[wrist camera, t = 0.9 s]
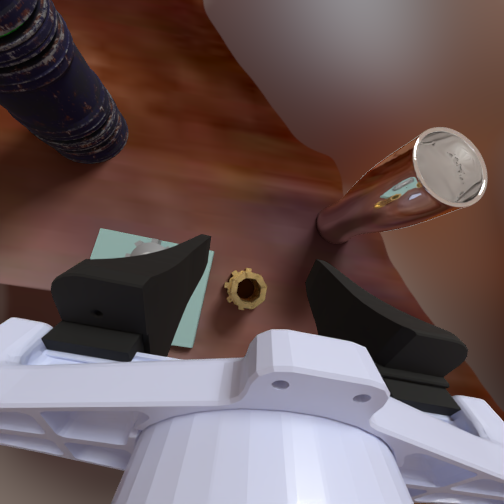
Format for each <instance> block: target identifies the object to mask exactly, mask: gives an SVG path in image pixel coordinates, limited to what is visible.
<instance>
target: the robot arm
mask: <svg viewBox="0 0 504 504" xmlns="http://www.w3.org/2000/svg"><path fill="white" fill-rule="evenodd" d="M210 241H211V236H207V235H203V234H201V235H199V236H196V237H194V238H192V239H190V240H188V241H186V242H183V243H181V244H178V245H176V246H173V247H171V248H168V249H164V250H161V251H157V252H153V253H148V254H143V255H138V256H131V257H122V258H109V259H85V260H84V261H82V262H80V263H79V264H77V265H75V266H74V267H72V268H71V269H69V270H67V271H66V272H64V273H63V274H61V275H59V276H58V277H56V278H55V280H54V281H53V282H52V286H51V293H52V297H53V300H54V302H55V304H56V307H57V309H58V311H59V314H60V316H61V319H62V321H61V322H60V323H58V324H57V325H56V326H55V327H54V328H53V327H52V326H50V325H49V324H46V323H43V322H37V321H32V320H27V319H21V318H10V319H8V320H7V321H5V322H4V323H2V324H1V325H0V445H4V446H10V447H16V448H21V449H25V450H30V451H36V452H41V453H45V454H49V455H54V456H59V457H63V458H68V459H72V460H77V461H82V462H86V463H91V464H96V465H100V466H105V467H109V468H114V469H119V470H123V471H125V472H124V474H123V476H122V478H121V481H120V483H119V486H118V488H117V490H116V493H115V495H114V497H113V500H112V502H111V504H414V503H413V502H419V503H440V504H504V422H503V421H502V419H501V418H500V417H499V416H498V415H497V414H496V413H495V412H494V411H493V409H492V408H491V407H490V406H489V405H488V404H487V403H486V402H485V400H482V399H479V398H473V397H467V396H461V395H456V396H452V397H451V395H450V394H449V393H448V391H447V390H446V389H445V388H448V387H449V383H448V382H447V381H446V380H445V379H444V376H445V375H447V374H448V373H449V372H451V371H452V370H454V369H455V368H456V367H458V366H459V365H460V364H461V363H462V362H463V361H464V360H465V359H466V357H467V352H468V349H467V347H466V345H465V344H464V343H463V342H462V341H460V339H459V338H458V337H456V336H455V335H454V334H452V333H451V332H448V331H446V330H444V329H441V328H438V327H436V326H434V325H431V324H429V323H426V322H424V321H421V320H419V319H417V318H415V317H413V316H410V315H408V314H406V313H404V312H402V311H400V310H398V309H396V308H394V307H392V306H390V305H388V304H387V303H385V302H383V301H381V300H380V299H378V298H376V297H375V296H373V295H371V294H370V293H368V292H367V291H365V290H364V289H362V288H361V287H359V286H358V285H357V284H355V283H354V282H352V281H351V280H350V279H349V278H347V277H346V276H345V275H343V274H342V273H341V272H340V271H338V270H337V269H336V268H334V267H333V266H332V265H330V264H329V263H327V262H326V261H322V260H318V259H316V261H315V263H314V265H313V267H312V269H311V271H310V274H309V276H308V278H307V280H306V282H305V283H306V291H307V296H308V300H309V303H310V307H311V310H312V313H313V316H314V319H315V323H316V326H317V330H318V335H314V334H309V333H304V332H298V331H293V330H288V329H271V330H268V331H265V332H263V333H260V334H258V335H257V336H256V337H255V338H254V339H253V341H252V342H251V343H250V345H249V348H248V350H247V353H246V355H245V357H244V358H220V359H192V360H181V359H175V358H170V357H167V355H168V352H169V350H170V347H171V344H172V341H173V339H174V336H175V333H176V331H177V328H178V326H179V323H180V321H181V318H182V316H183V313H184V311H185V308H186V306H187V304H188V302H189V300H190V298H191V296H192V294H193V292H194V291H195V289H196V287H197V285H198V283H199V281H200V280H201V278H202V276H203V274H204V271H205V269H206V266H207V263H208V257H209V249H210Z"/></svg>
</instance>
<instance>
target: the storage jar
mask: <svg viewBox="0 0 504 504" xmlns="http://www.w3.org/2000/svg"><path fill="white" fill-rule="evenodd" d="M0 105H2V106H3V107H4V108H6V109H7V110H8V112H9V113H10V114H11V115H12V116H13V117H14V118H15V119H16V120H17V121H19V122H20V123H21V124H22V125H24V126H25V127H26V128H27V129H28V130H29V131H30V132H31V133H33V134H34V135H35V136H36V137H38V138H39V139H40V140H42V141H43V142H45V143H46V144H48V145H50V146H51V147H53V148H54V149H55V150H57V151H58V152H59V153H60V154H62V155H63V156H64V157H66V158H68V159H70V160H72V161H75V162H79V163H86V164H93V163H100V162H103V161H106V160H109V159H111V158H112V157H114V156H116V155H117V154H118V153H119V152H120V151H121V150H122V149H123V147H124V146H125V144H126V142H127V138H128V127H127V124H126V121H125V119H124V118H123V116H122V115H121V113H120V112H119V110H118V108H117V106H116V104H115V102H114V100H113V99H112V97H111V95H110V94H109V92H108V90H107V89H106V88H105V87H104V85H103V84H102V82H101V81H100V79H99V78H98V76H97V75H96V74H95V73H94V72H93V71H92V70H91V69H90V67H89V66H88V64H87V63H86V61H85V60H84V58H83V57H82V55H81V53H80V52H79V50H78V49H77V47H76V46H75V44H74V42H73V39H72V36H71V34H70V31H69V30H68V28H67V26H66V23H65V21H64V20H63V18H62V16H61V15H60V14H59V13H58V12H57V10H56V9H55V7H54V4H53V2H52V1H51V0H0Z"/></svg>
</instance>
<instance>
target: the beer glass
mask: <svg viewBox="0 0 504 504" xmlns="http://www.w3.org/2000/svg"><path fill="white" fill-rule="evenodd" d="M486 185H487V170H486V166H485V163H484V160H483V158H482V156H481V154H480V152H479V151H478V149H477V148H476V147H475V146H474V144H473V143H472V142H471V141H470V140H469V139H468V138H466V137H465V136H464V135H462V134H461V133H459V132H457V131H455V130H452V129H449V128H445V127H435V128H431V129H428V130H426V131H424V132H423V133H422V134H421V135H419V136H418V137H416V138H415V139H413V140H412V141H410V142H409V143H407V144H406V145H404V146H402V147H401V148H400V149H398V150H396V151H395V152H393V153H392V154H390V155H389V156H388V157H386V158H385V159H384V160H382V161H381V162H379V163H378V164H377V165H376V166H374V167H373V168H372V169H370V170H369V171H368V172H367V173H366V174H365V175H364V176H363V177H362V178H361V179H360V180H359V181H358V182H357V183H356V184H355V185H354V186H353V187H352V188H351V189H350V190H349V191H348V192H347V194H346V195H345V196H344V197H343V198H342V199H341V200H340V201H338V202H337V203H335V204H332V205H330V206H327V207H325V208H324V209H322V210H321V212H320V213H319V215H318V217H317V228H318V231H319V233H320V235H321V236H322V237H323V238H324V239H325V240H327V241H328V242H330V243H334V244H340V243H344V242H346V241H348V240H349V239H351V238H352V237H354V236H356V235H360V234H366V233H376V232H384V231H391V230H397V229H401V228H405V227H409V226H412V225H416V224H419V223H422V222H425V221H428V220H431V219H434V218H437V217H439V216H442V215H445V214H447V213H450V212H452V211H455V210H458V209H461V208H463V207H467V206H470V205H473V204H474V203H476V202H477V201H478V200H479V199H480V198H481V197H482V196H483V194H484V192H485V190H486Z"/></svg>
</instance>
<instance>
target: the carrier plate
mask: <svg viewBox="0 0 504 504" xmlns="http://www.w3.org/2000/svg"><path fill="white" fill-rule="evenodd" d="M176 245H178V244H176V243H171V242H166V241H161V240H159V239H154V238H152V239H151V238H146V237H141V236H136V235H132V234H127V233H122V232H117V231H112V230H107V229H102V228H101V229H100V231H99V234H98V237H97V240H96V243H95V246H94V249H93V252H92V254H91V257H90V259H109V258H122V257H131V256H138V255H143V254H148V253H153V252H157V251H161V250H164V249H168V248H171V247H173V246H176ZM213 256H214V251H210V250H209V257H208V263H207V266H206V269H205V271H204V274H203V276H202V278H201V280H200V281H199V283H198V285H197V287H196V289H195V291H194V292H193V294H192V296H191V298H190V300H189V302H188V304H187V306H186V308H185V311H184V313H183V316H182V318H181V321H180V323H179V326H178V328H177V331H176V333H175V336H174V339H173V341H172V344H171V345H175V346H182V347H189V348H192V347H193V344H194V340H195V336H196V331H197V327H198V322H199V318H200V313H201V309H202V305H203V300H204V296H205V291H206V287H207V282H208V278H209V274H210V269H211V265H212V260H213Z"/></svg>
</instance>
